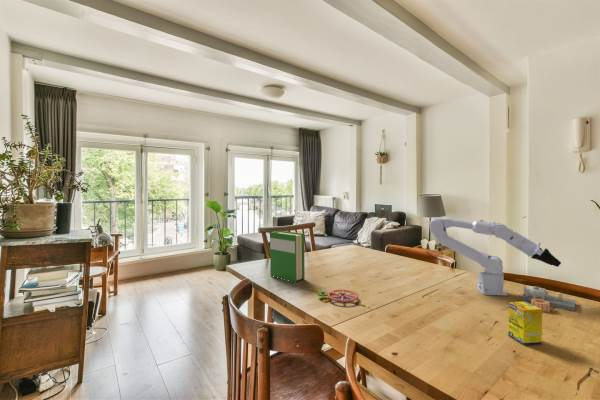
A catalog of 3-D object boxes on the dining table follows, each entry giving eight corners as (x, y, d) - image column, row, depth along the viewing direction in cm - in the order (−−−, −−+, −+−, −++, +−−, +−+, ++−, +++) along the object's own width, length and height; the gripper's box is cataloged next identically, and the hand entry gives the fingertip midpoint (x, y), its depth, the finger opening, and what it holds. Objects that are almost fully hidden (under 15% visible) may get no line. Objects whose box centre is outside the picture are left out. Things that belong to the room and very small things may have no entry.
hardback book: (304, 279, 152) (304, 233, 151) (295, 283, 146) (294, 235, 145) (280, 273, 163) (279, 230, 162) (270, 276, 157) (269, 232, 156)
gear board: (521, 300, 122) (522, 287, 121) (525, 293, 129) (525, 282, 128) (574, 311, 110) (574, 297, 110) (575, 303, 117) (575, 290, 117)
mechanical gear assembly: (355, 313, 111) (374, 303, 122) (355, 302, 111) (374, 293, 122) (297, 294, 131) (318, 287, 142) (297, 285, 131) (318, 278, 142)
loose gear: (536, 311, 110) (536, 303, 110) (527, 305, 116) (527, 298, 116) (553, 312, 110) (553, 304, 109) (543, 306, 115) (543, 299, 115)
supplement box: (507, 335, 93) (508, 301, 92) (525, 334, 93) (525, 301, 93) (523, 345, 87) (524, 309, 86) (542, 344, 87) (542, 308, 87)
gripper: (531, 235, 117) (569, 257, 111) (524, 236, 130) (557, 255, 124) (520, 249, 119) (556, 271, 113) (513, 248, 131) (546, 268, 125)
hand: (556, 264), depth 119 cm, fingers open, 7 cm apart
